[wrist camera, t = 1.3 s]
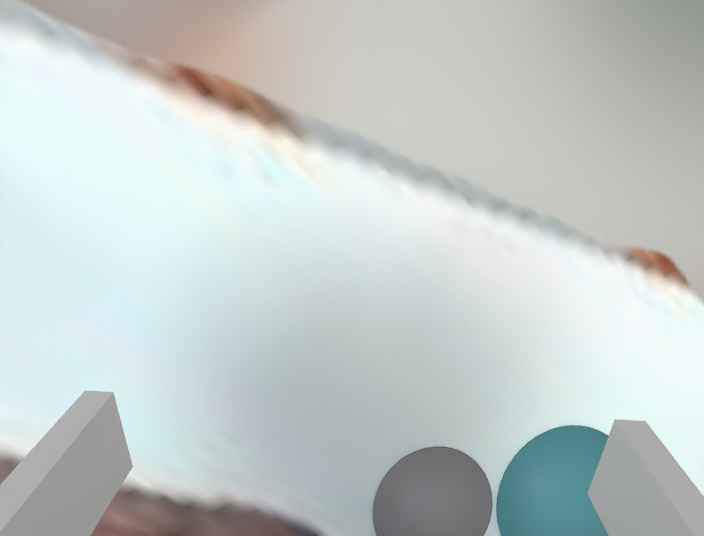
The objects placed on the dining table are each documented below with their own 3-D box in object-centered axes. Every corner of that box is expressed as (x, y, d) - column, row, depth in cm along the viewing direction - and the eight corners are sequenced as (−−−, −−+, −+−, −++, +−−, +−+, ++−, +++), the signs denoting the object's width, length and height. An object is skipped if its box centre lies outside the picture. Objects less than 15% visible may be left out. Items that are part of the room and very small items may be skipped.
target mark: (629, 569, 38) (631, 570, 38) (492, 580, 36) (493, 582, 36) (639, 424, 38) (641, 425, 37) (501, 427, 35) (502, 428, 35)
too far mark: (487, 563, 36) (488, 565, 36) (370, 572, 34) (370, 574, 34) (494, 445, 35) (495, 446, 35) (376, 449, 34) (376, 450, 34)
